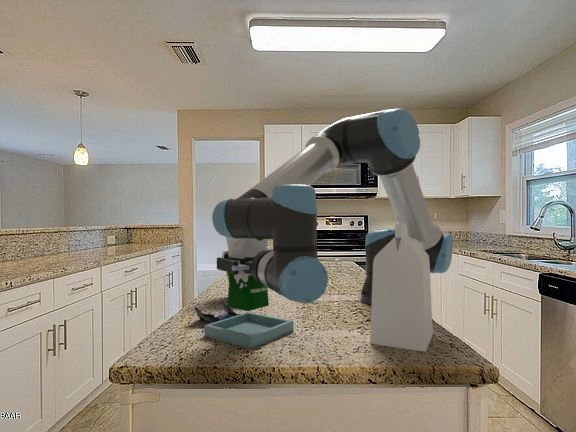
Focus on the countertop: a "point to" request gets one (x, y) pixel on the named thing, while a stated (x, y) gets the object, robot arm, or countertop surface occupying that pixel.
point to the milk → (401, 294)
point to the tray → (248, 329)
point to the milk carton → (246, 276)
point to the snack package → (217, 318)
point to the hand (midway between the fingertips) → (242, 258)
